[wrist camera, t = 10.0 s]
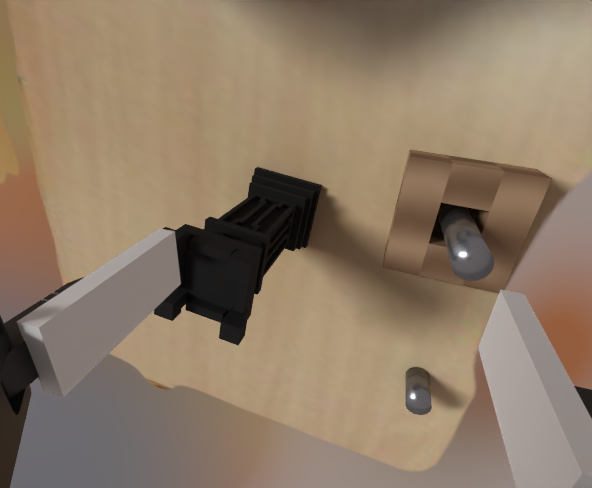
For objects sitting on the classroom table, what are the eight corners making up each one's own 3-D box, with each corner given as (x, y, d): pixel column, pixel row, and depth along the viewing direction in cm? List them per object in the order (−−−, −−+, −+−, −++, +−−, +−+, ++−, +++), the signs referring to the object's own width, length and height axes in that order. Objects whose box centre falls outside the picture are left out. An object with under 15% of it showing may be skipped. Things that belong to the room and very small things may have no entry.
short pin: (408, 364, 47) (408, 393, 43) (431, 370, 46) (434, 400, 42) (403, 380, 48) (403, 410, 44) (425, 387, 48) (427, 417, 43)
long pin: (443, 198, 37) (458, 242, 27) (472, 204, 37) (500, 251, 26) (434, 224, 39) (446, 275, 28) (463, 230, 38) (485, 285, 28)
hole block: (409, 149, 36) (410, 156, 33) (536, 169, 34) (552, 178, 30) (384, 252, 42) (382, 267, 38) (493, 275, 39) (501, 294, 36)
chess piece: (321, 185, 40) (257, 261, 23) (307, 245, 44) (242, 351, 27) (257, 167, 42) (150, 226, 24) (248, 227, 45) (149, 316, 28)
